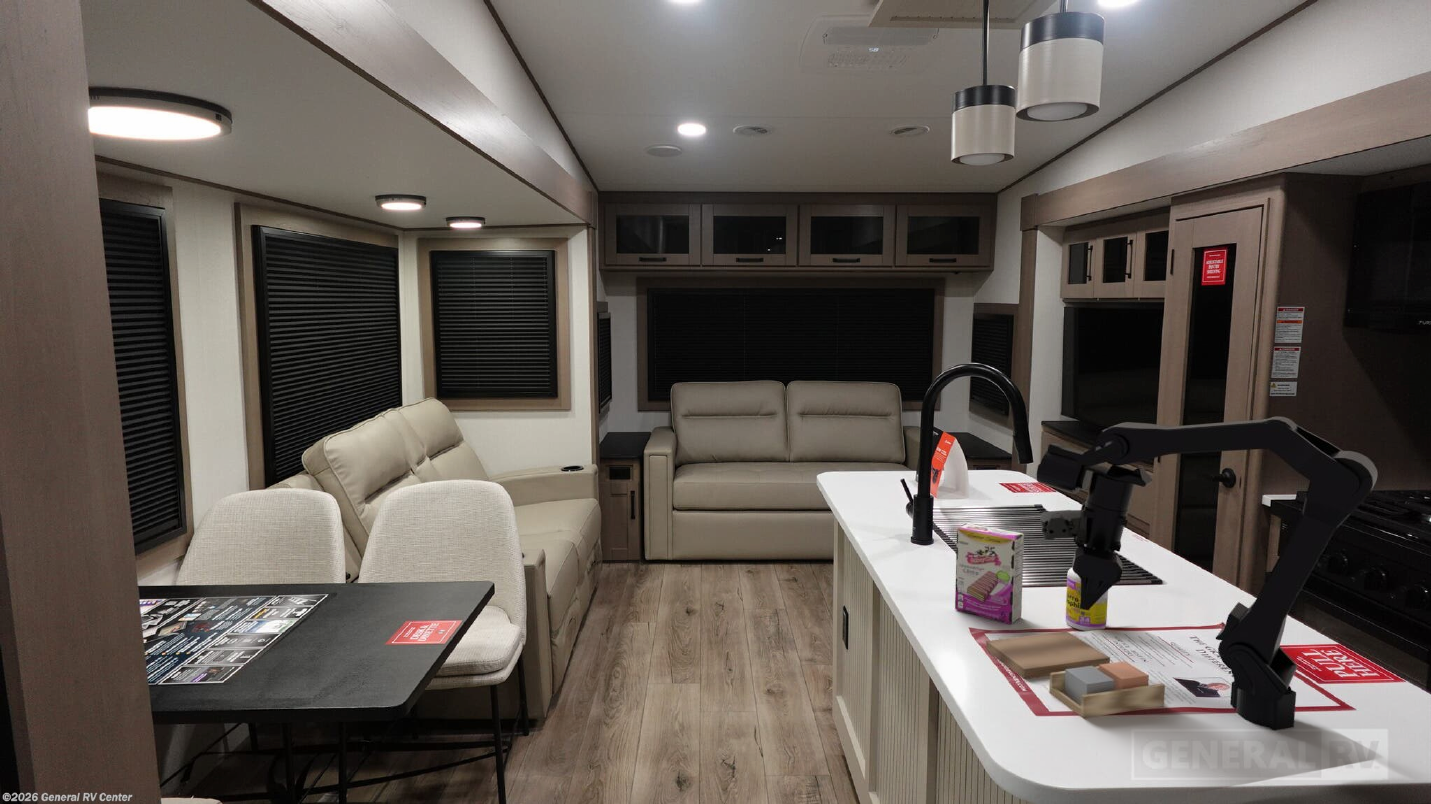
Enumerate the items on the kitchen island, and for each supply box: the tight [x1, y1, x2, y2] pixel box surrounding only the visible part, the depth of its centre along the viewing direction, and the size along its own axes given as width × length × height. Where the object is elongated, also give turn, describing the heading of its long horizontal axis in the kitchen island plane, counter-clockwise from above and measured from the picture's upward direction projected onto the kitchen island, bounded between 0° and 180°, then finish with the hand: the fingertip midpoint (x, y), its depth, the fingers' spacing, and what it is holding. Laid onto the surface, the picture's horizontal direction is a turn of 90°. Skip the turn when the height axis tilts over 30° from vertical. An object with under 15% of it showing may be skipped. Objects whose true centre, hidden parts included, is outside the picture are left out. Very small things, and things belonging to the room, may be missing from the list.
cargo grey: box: [1064, 666, 1114, 706], centre depth 104 cm, size 4×4×4 cm
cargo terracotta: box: [1099, 660, 1150, 690], centre depth 105 cm, size 4×4×4 cm
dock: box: [985, 630, 1111, 680], centre depth 117 cm, size 10×15×3 cm, turn 102°
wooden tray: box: [1049, 666, 1166, 719], centre depth 104 cm, size 13×7×4 cm, turn 102°
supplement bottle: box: [1065, 566, 1109, 632], centre depth 132 cm, size 7×7×13 cm
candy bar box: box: [954, 522, 1025, 625], centre depth 137 cm, size 11×5×16 cm, turn 47°
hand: (1084, 596), depth 114 cm, fingers open, 9 cm apart
